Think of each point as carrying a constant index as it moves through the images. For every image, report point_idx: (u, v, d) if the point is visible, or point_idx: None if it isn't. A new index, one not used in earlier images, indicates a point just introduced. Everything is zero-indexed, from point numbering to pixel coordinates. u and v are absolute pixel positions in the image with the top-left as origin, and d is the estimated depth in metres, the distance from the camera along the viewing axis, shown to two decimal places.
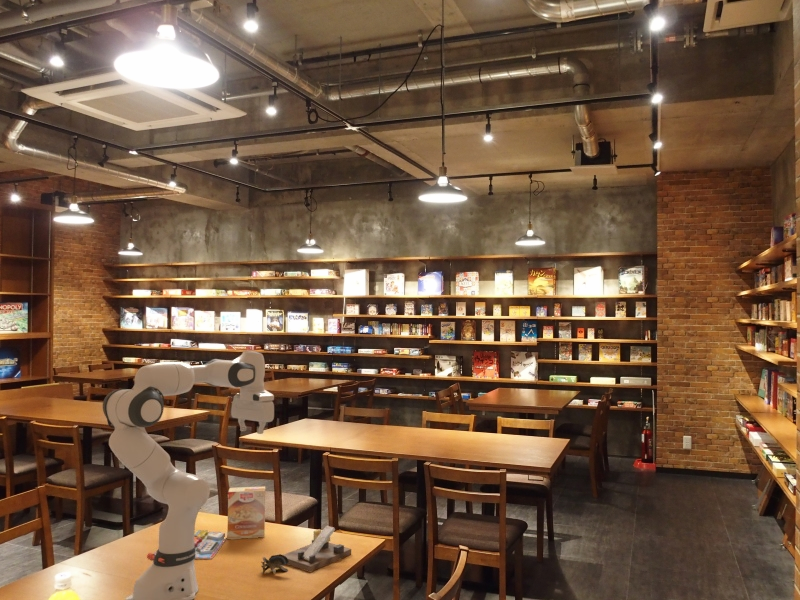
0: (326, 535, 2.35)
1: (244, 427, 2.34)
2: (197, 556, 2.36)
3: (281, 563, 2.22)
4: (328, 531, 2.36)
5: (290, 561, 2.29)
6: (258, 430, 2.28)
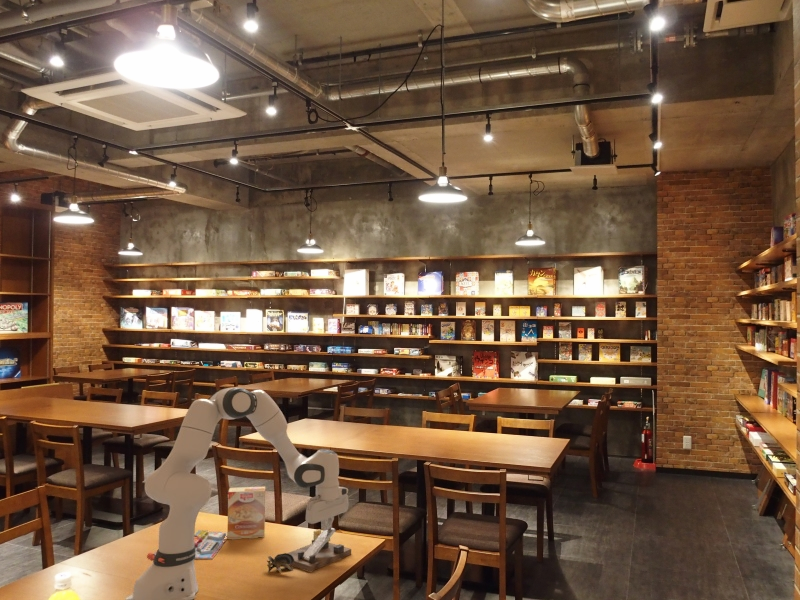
0: (326, 536, 2.35)
1: None
2: (197, 556, 2.36)
3: (287, 562, 2.23)
4: (329, 532, 2.36)
5: None
6: (330, 525, 2.38)
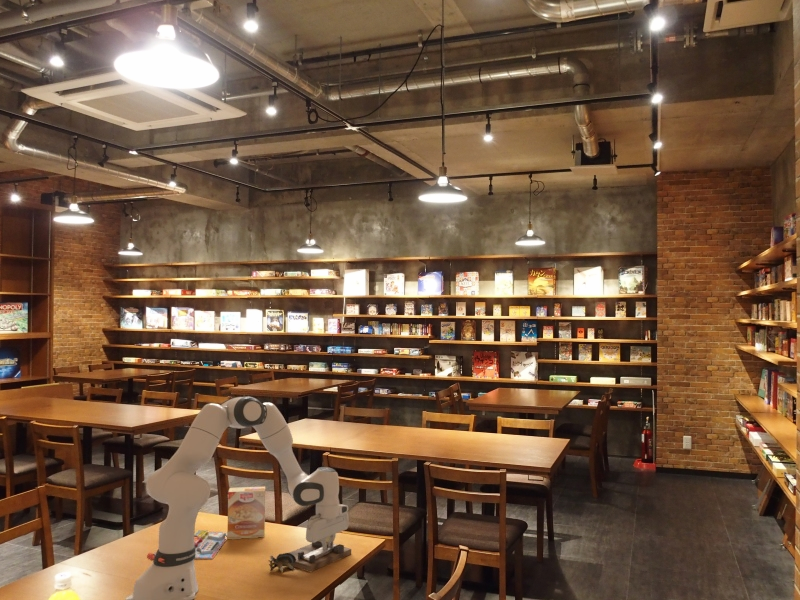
0: (329, 548, 2.36)
1: None
2: (197, 556, 2.36)
3: (288, 561, 2.23)
4: (332, 546, 2.38)
5: None
6: (332, 543, 2.38)
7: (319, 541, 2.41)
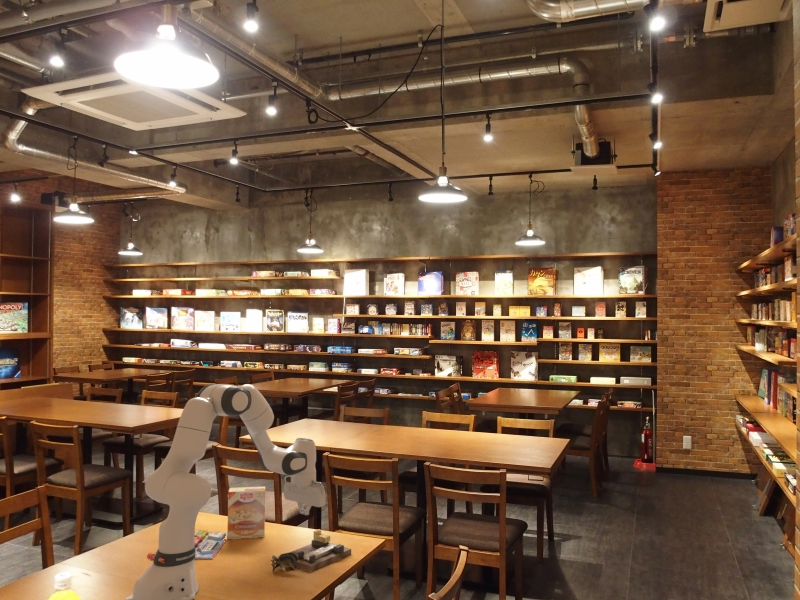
0: (329, 548, 2.36)
1: None
2: (198, 556, 2.36)
3: (291, 561, 2.24)
4: (332, 547, 2.38)
5: None
6: None
7: (319, 541, 2.41)
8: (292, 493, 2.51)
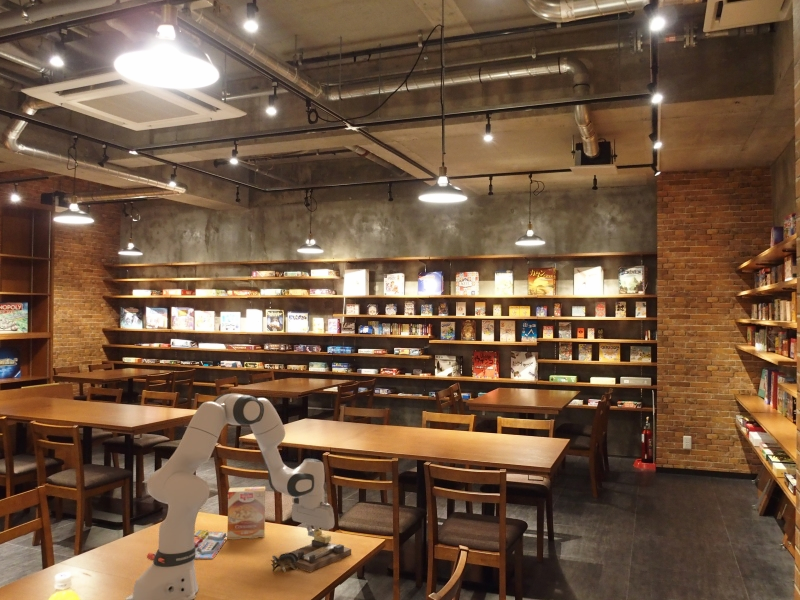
0: (329, 548, 2.36)
1: None
2: (198, 556, 2.36)
3: (291, 561, 2.24)
4: (332, 547, 2.38)
5: None
6: None
7: (320, 541, 2.41)
8: (300, 514, 2.47)
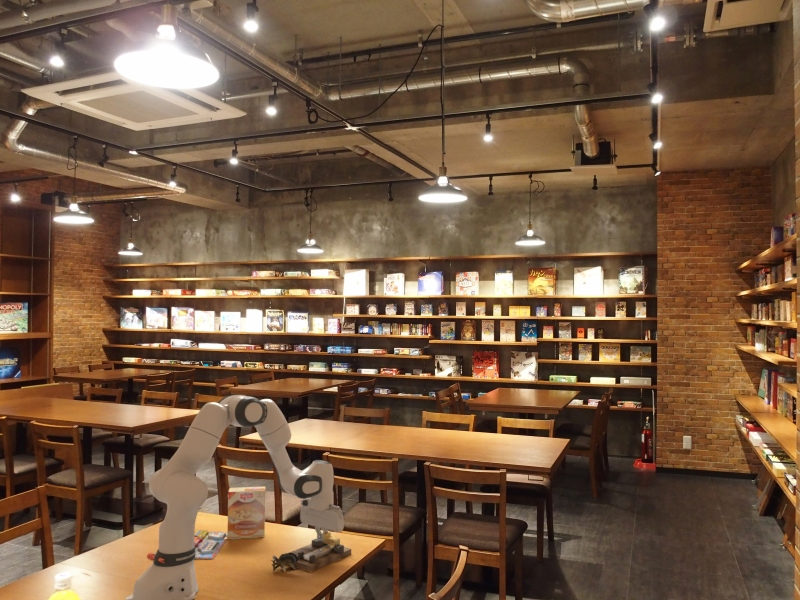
0: (329, 548, 2.36)
1: None
2: (198, 556, 2.36)
3: (291, 561, 2.23)
4: (332, 547, 2.38)
5: None
6: None
7: (329, 544, 2.38)
8: (309, 516, 2.45)
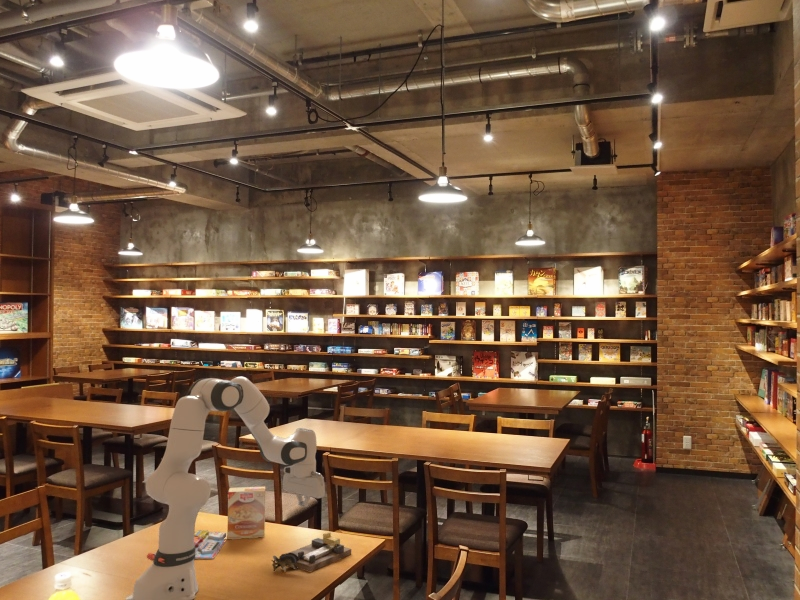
0: (329, 548, 2.36)
1: None
2: (198, 556, 2.36)
3: (291, 561, 2.23)
4: (332, 547, 2.38)
5: None
6: None
7: (329, 544, 2.38)
8: (291, 484, 2.47)
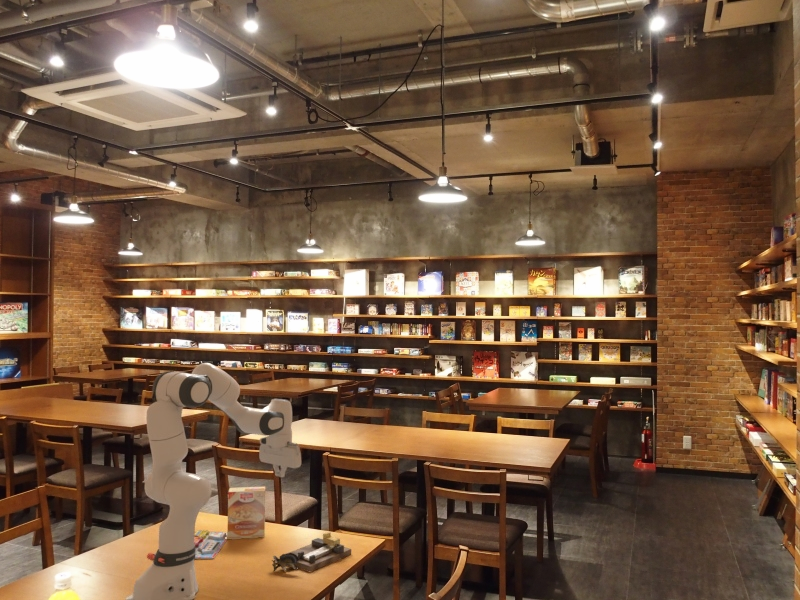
0: (329, 548, 2.36)
1: None
2: (198, 556, 2.36)
3: (292, 561, 2.23)
4: (332, 547, 2.38)
5: None
6: None
7: (329, 544, 2.38)
8: (267, 455, 2.45)
